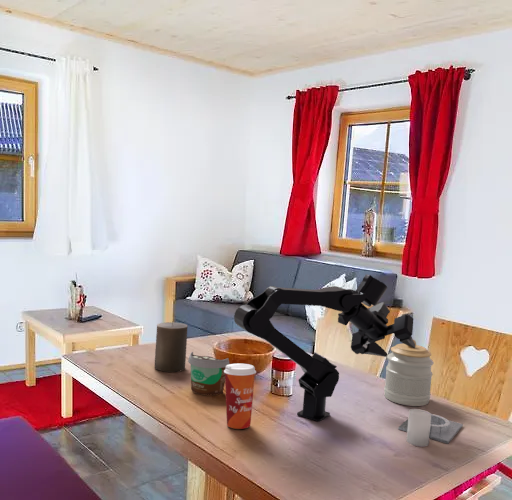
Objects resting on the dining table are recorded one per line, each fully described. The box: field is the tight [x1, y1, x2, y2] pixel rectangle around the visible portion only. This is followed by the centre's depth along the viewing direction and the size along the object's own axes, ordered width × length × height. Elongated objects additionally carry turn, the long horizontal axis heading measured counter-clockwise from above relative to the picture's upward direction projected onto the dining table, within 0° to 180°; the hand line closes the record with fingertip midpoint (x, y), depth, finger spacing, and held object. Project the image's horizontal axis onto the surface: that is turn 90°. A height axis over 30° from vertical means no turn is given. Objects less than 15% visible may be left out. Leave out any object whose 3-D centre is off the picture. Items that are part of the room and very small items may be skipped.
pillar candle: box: [154, 320, 189, 373], centre depth 170 cm, size 10×10×15 cm
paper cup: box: [224, 363, 257, 430], centre depth 128 cm, size 8×8×14 cm
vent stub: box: [405, 408, 432, 448], centre depth 126 cm, size 6×5×7 cm
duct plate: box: [398, 413, 464, 445], centre depth 135 cm, size 14×12×2 cm
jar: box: [383, 339, 434, 407], centre depth 156 cm, size 13×13×18 cm
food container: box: [187, 351, 230, 396], centre depth 149 cm, size 12×6×10 cm, turn 68°
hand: (400, 350), depth 147 cm, fingers open, 9 cm apart
